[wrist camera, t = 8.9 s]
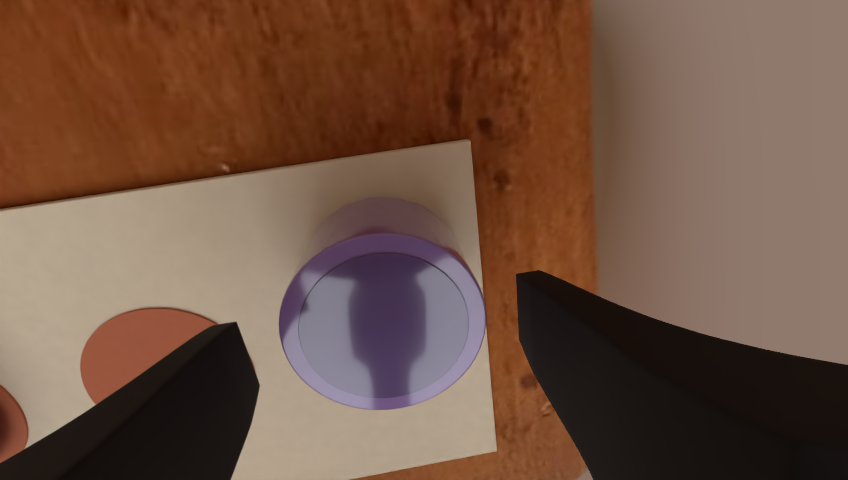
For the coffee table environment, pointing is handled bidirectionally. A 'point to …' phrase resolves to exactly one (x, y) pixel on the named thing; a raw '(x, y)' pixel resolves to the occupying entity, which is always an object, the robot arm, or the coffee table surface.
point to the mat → (222, 307)
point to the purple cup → (382, 307)
